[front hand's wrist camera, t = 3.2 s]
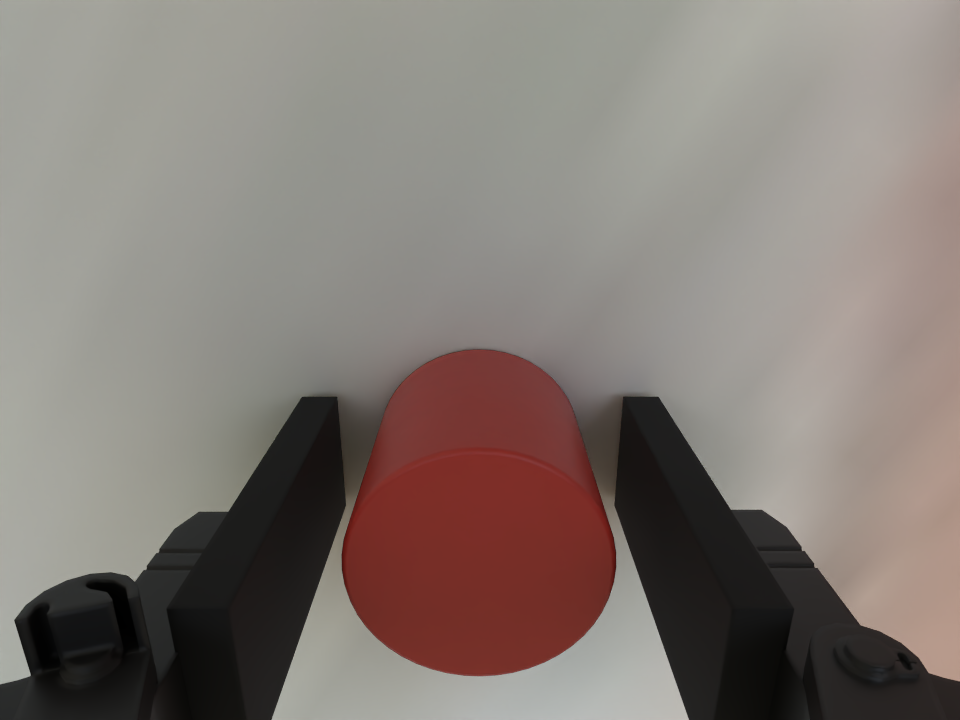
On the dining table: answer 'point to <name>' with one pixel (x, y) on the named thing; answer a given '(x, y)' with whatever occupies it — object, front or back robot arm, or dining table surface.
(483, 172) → the dining table surface
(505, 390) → the canister
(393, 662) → the dining table surface
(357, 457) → the dining table surface
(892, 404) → the dining table surface
